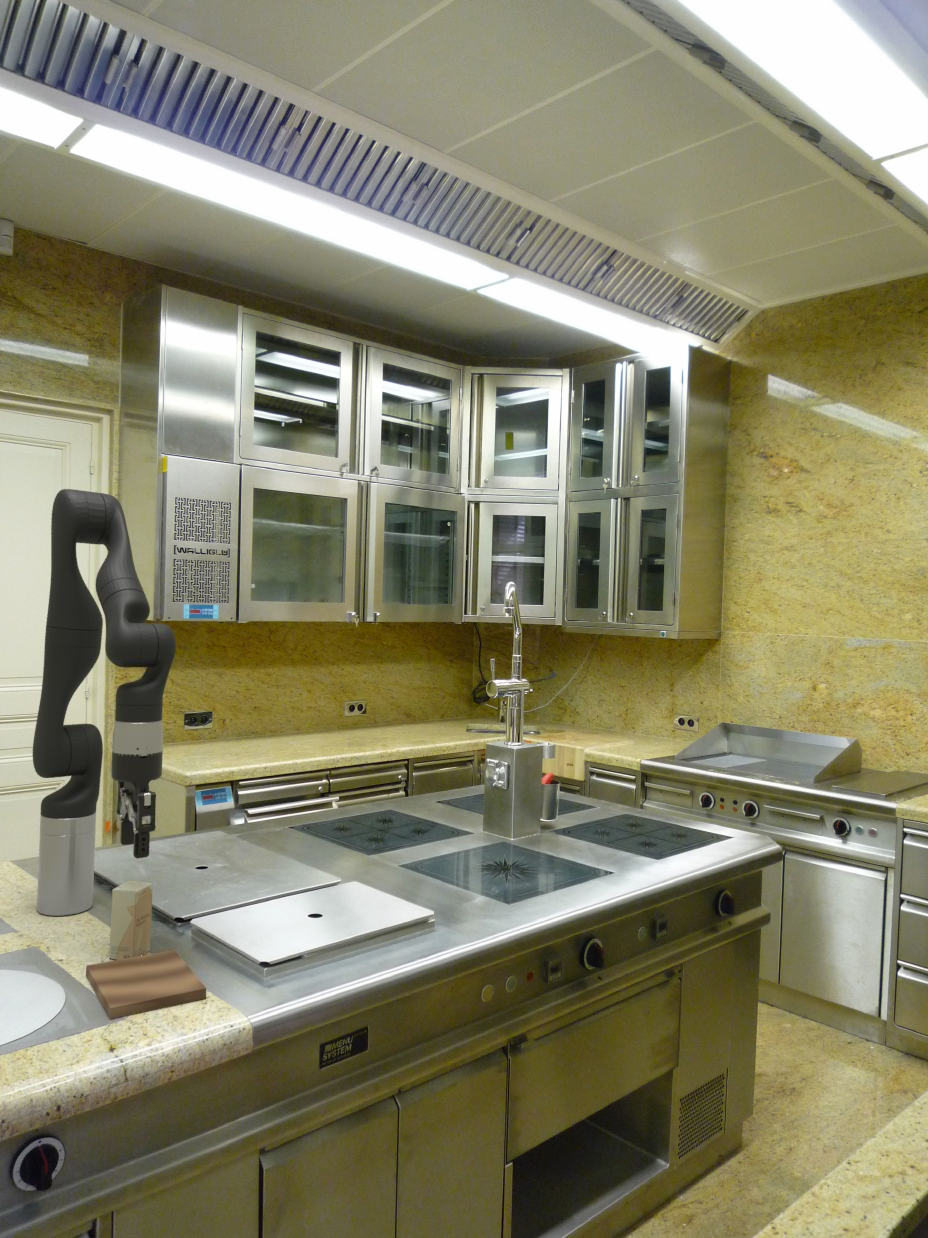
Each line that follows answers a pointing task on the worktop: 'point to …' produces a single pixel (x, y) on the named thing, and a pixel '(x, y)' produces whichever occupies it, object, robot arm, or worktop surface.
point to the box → (131, 920)
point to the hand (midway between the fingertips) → (134, 850)
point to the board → (144, 983)
